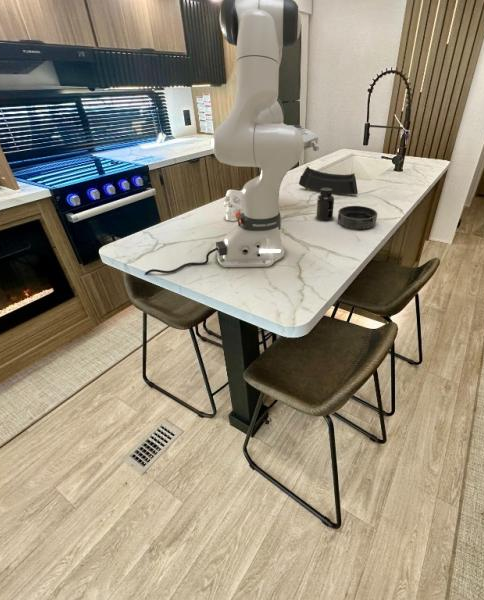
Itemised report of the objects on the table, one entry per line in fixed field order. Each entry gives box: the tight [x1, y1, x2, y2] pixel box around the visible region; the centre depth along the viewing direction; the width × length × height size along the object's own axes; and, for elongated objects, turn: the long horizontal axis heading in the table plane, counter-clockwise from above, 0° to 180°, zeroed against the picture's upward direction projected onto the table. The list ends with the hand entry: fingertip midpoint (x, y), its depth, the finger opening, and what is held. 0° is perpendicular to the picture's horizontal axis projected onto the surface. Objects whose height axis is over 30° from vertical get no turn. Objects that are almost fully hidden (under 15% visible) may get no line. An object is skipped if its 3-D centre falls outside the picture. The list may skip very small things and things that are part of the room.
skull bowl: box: [223, 189, 244, 222], centre depth 137 cm, size 10×14×12 cm
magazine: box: [298, 166, 359, 195], centre depth 161 cm, size 17×3×30 cm
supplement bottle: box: [316, 188, 335, 222], centre depth 132 cm, size 7×7×12 cm
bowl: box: [337, 205, 379, 230], centre depth 130 cm, size 15×15×4 cm
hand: (309, 152), depth 126 cm, fingers open, 8 cm apart
